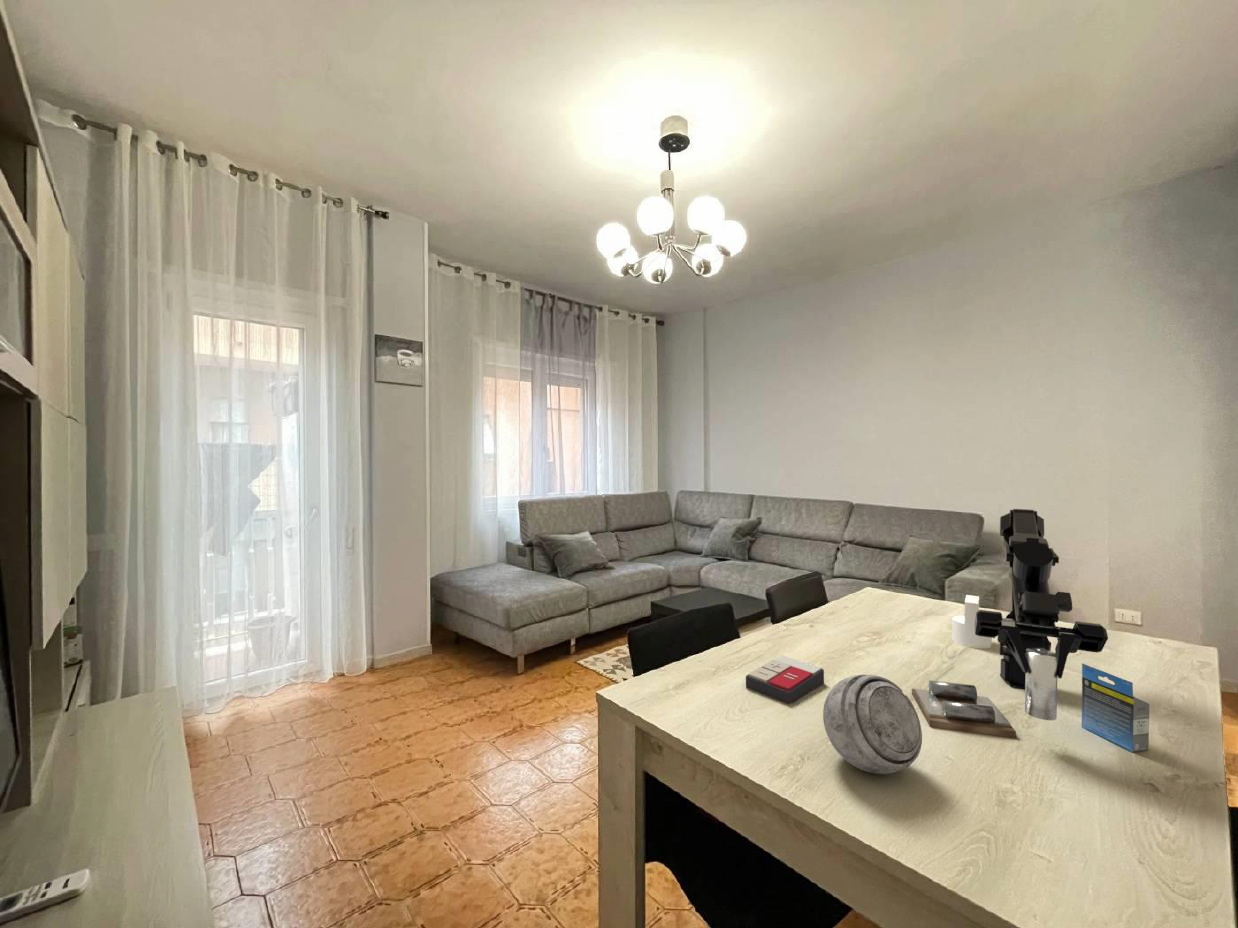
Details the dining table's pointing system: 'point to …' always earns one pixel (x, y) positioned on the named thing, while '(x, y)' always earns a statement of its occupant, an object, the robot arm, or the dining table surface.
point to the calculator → (785, 679)
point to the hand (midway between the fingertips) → (1042, 674)
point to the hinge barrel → (1041, 683)
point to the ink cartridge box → (1114, 710)
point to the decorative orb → (872, 724)
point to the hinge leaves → (960, 704)
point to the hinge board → (963, 721)
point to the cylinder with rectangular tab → (969, 626)
